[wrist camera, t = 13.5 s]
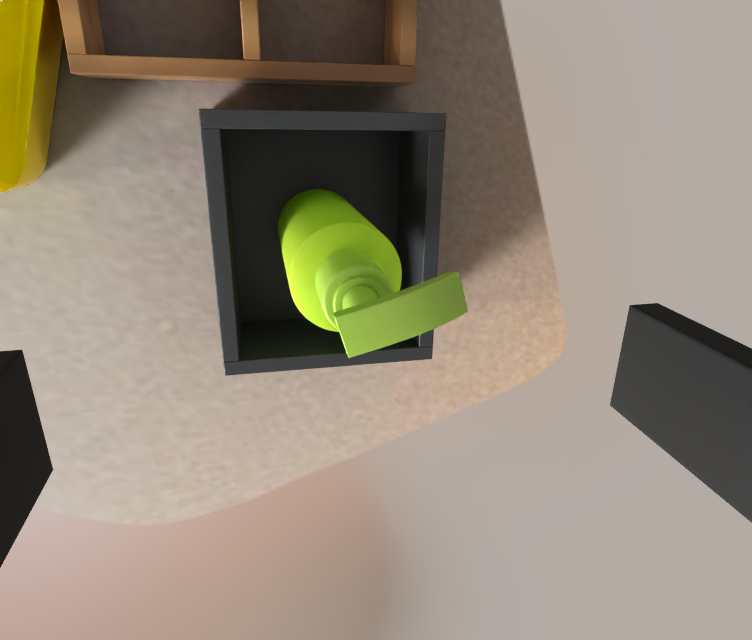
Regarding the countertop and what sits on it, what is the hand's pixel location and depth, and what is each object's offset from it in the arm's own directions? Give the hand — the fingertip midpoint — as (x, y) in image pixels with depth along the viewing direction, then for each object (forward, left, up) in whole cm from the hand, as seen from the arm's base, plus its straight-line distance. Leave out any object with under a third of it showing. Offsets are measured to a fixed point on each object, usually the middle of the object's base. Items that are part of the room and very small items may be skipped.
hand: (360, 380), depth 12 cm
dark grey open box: (+2, +2, -30) cm, 30 cm away
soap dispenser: (+2, +3, -29) cm, 29 cm away
